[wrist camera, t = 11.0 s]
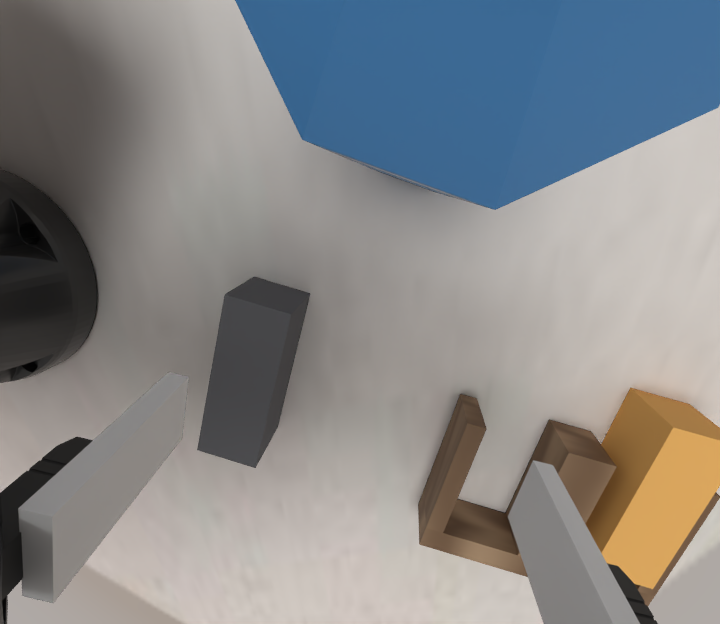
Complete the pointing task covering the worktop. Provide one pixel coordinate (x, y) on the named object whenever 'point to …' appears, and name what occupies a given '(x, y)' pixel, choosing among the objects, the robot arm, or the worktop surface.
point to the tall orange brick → (654, 483)
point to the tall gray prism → (251, 369)
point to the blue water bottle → (488, 83)
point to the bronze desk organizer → (492, 528)
